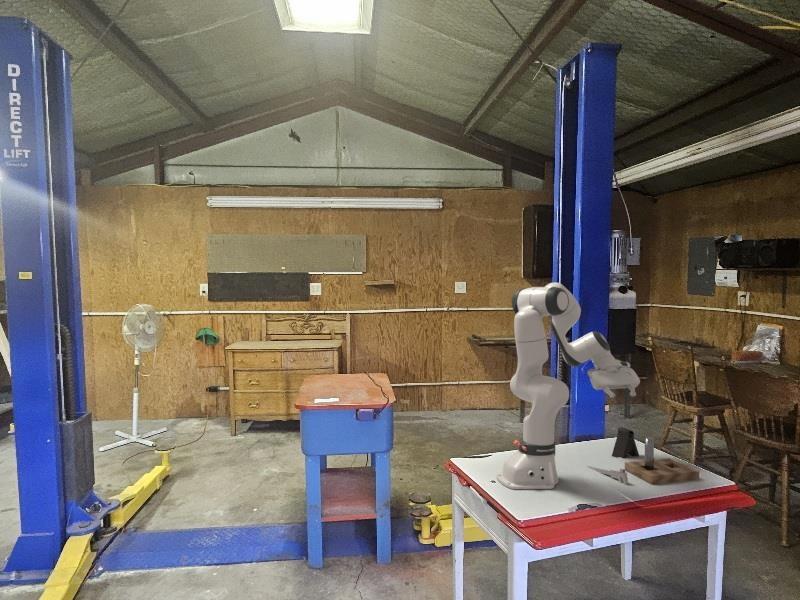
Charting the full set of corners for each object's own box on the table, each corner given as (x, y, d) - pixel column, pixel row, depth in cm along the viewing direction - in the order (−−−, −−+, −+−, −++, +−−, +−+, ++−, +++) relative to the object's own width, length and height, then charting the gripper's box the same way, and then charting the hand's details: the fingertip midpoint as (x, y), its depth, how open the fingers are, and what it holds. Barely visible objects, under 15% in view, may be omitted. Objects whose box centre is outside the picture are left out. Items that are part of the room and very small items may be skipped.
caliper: (628, 488, 167) (627, 470, 167) (625, 488, 166) (625, 470, 166) (586, 468, 186) (586, 452, 186) (584, 468, 186) (584, 452, 185)
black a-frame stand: (629, 453, 201) (629, 426, 201) (639, 458, 196) (639, 429, 196) (611, 456, 199) (611, 427, 199) (622, 460, 193) (622, 431, 193)
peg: (648, 477, 173) (648, 439, 172) (642, 474, 175) (642, 437, 175) (655, 477, 173) (655, 439, 173) (649, 474, 176) (649, 436, 176)
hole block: (651, 487, 166) (651, 476, 166) (624, 472, 180) (624, 462, 180) (699, 482, 171) (699, 471, 171) (669, 468, 184) (669, 458, 184)
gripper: (588, 364, 193) (604, 393, 183) (632, 362, 197) (649, 390, 188) (582, 373, 197) (597, 402, 188) (625, 371, 202) (641, 399, 192)
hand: (623, 396), depth 188 cm, fingers open, 8 cm apart
